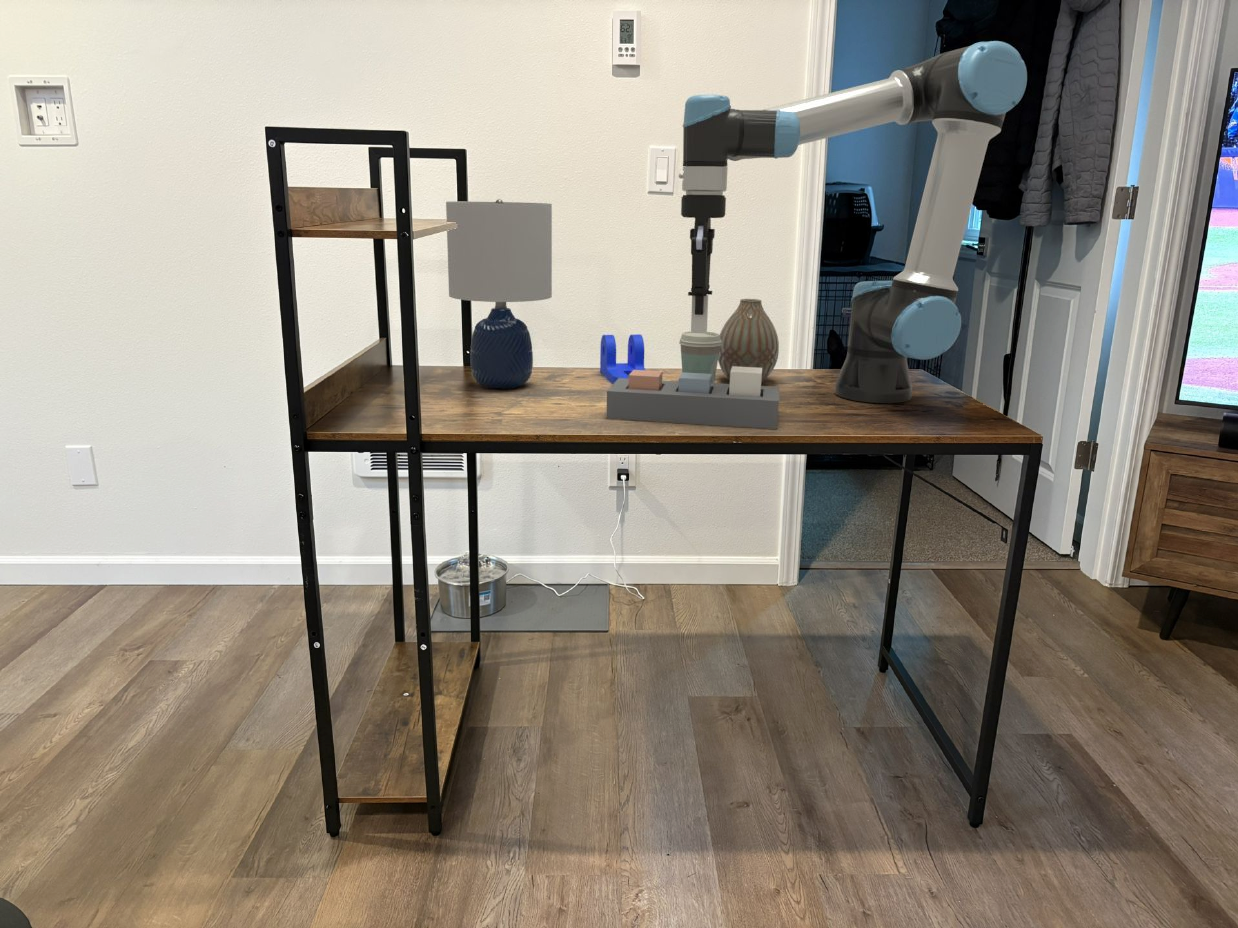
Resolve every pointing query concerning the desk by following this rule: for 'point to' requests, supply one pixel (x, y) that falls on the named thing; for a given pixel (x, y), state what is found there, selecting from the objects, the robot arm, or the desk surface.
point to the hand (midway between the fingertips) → (698, 332)
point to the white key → (745, 381)
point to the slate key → (695, 383)
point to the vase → (749, 339)
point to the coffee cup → (700, 352)
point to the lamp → (500, 280)
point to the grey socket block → (693, 405)
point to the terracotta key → (645, 380)
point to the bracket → (609, 357)
